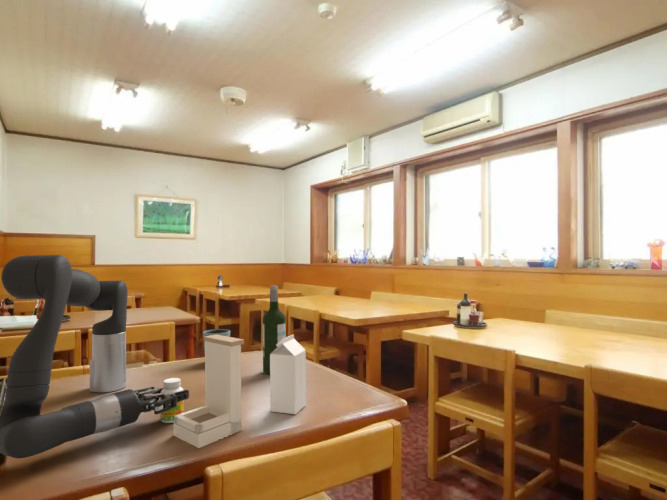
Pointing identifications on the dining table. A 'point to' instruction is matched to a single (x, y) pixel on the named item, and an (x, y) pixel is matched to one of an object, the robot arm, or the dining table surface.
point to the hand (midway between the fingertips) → (181, 391)
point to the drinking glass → (216, 331)
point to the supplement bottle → (172, 387)
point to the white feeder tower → (215, 395)
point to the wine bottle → (272, 328)
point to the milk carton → (287, 377)
